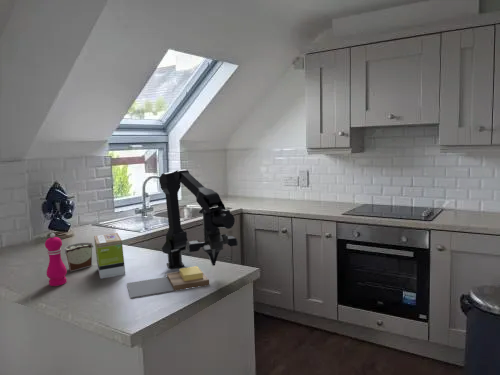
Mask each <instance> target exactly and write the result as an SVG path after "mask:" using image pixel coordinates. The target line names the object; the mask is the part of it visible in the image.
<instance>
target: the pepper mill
mask: <svg viewBox="0 0 500 375" xmlns="http://www.w3.org/2000/svg"><path fill="white" fill-rule="evenodd" d="M62 245H63V241H62V239H61V238H60V237H57V236H56V234H55V233H53V232H52V233H50V234H49V238H47V239H46V240H45V242H44V246H45V248H46V249H47V251H46V252H47V255H48V257H49V260H48V261H49V262H48V266H47V268H46V277H47V278H48V279H49V280H48V285H49V286H50V287H58V286H62V285H64V284H66V283H67V277H66V275H67V273H68V270H67V267H66V265H65V263H64V262H63V260H62V254H61V253H62V252H63V251H62V248H61V247H62Z"/></svg>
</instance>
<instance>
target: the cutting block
mask: <svg viewBox="0 0 500 375" xmlns="http://www.w3.org/2000/svg"><path fill="white" fill-rule="evenodd" d="M198 268H199V269H200V270H201V268H200V267H198ZM166 277H167V278H168V280H169V282H170V284H171V285H172V287H173V289H174V292H177V291H181V290H180V289H183V290H187V289H186V288H189V289H193V288H192V287H195V288H199V287H198V286H201V287H205V285H206V286H210V279H209V278H208V277H207V275H206V274H205V273H204V272H203V278H200V279H194V280H187V281H184V280H183V278H182V277H181V275H180V271H175V272H168V273H166ZM176 290H177V291H176Z"/></svg>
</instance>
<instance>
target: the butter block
mask: <svg viewBox="0 0 500 375" xmlns="http://www.w3.org/2000/svg"><path fill="white" fill-rule="evenodd" d="M199 268H200V267H198V265H196V266H189V267H188V266H187V267H181V268H179V271H180V275H181V277H182V278H183V280H184V281H187V280H194V279H200V278H203V273H204V272H203V271H202V269H201V268H200V269H199ZM179 271H178V272H179Z"/></svg>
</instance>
